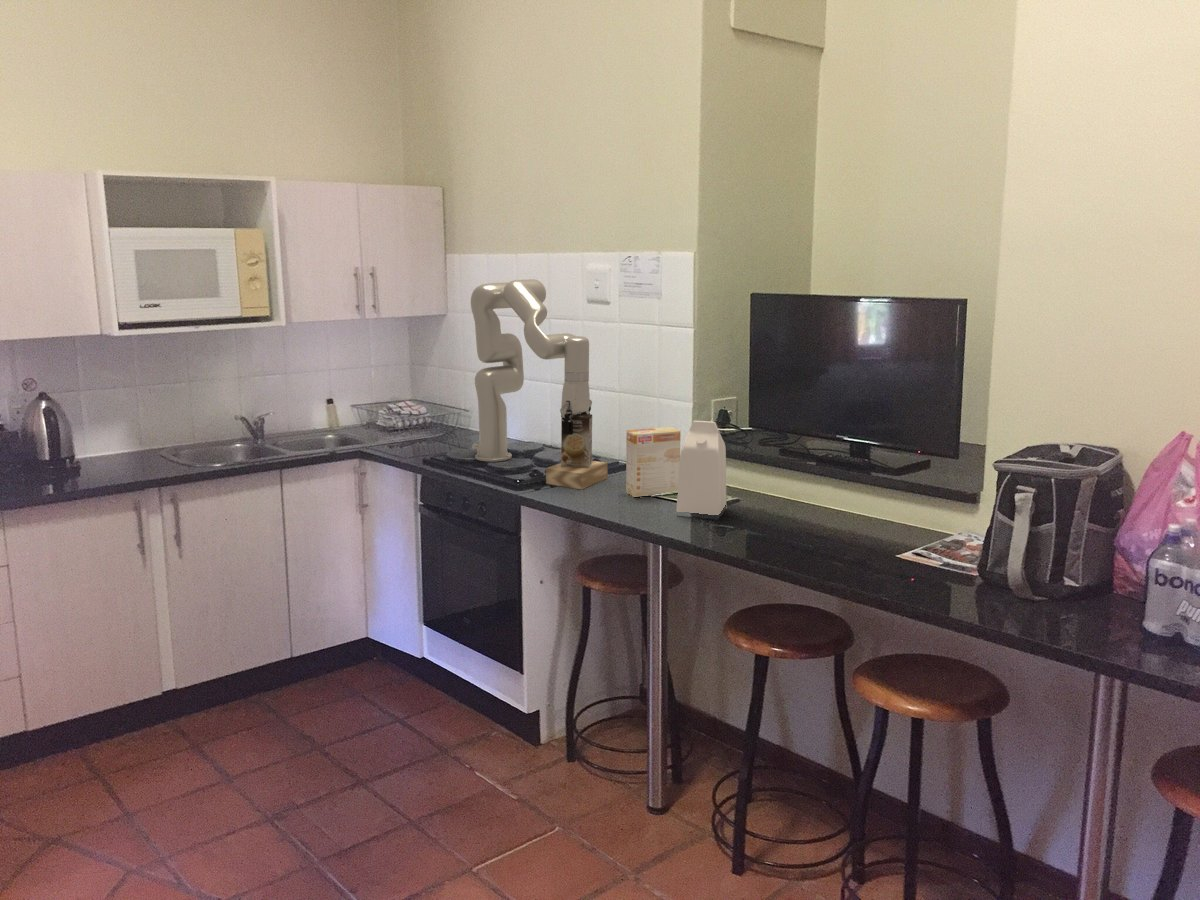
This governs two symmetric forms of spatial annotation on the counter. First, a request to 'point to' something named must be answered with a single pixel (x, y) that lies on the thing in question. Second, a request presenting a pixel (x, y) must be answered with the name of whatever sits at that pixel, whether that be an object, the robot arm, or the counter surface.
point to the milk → (702, 470)
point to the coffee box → (577, 443)
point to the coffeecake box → (652, 461)
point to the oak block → (576, 475)
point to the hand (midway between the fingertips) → (576, 431)
